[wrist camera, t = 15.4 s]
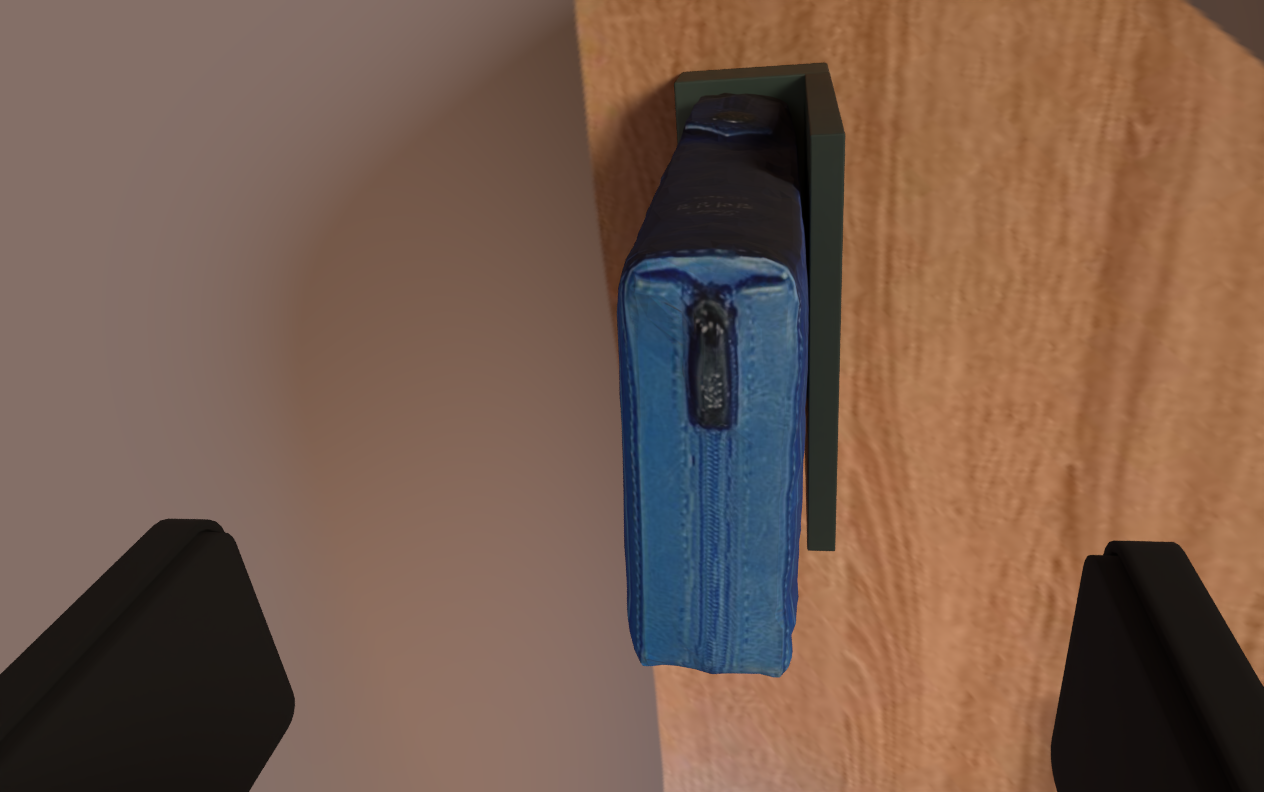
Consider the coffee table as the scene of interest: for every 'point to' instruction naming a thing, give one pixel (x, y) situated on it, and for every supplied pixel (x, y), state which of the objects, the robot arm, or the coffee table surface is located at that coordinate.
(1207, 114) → the coffee table surface
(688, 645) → the blue zipper case
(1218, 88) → the coffee table surface
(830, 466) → the green l-shaped stand
